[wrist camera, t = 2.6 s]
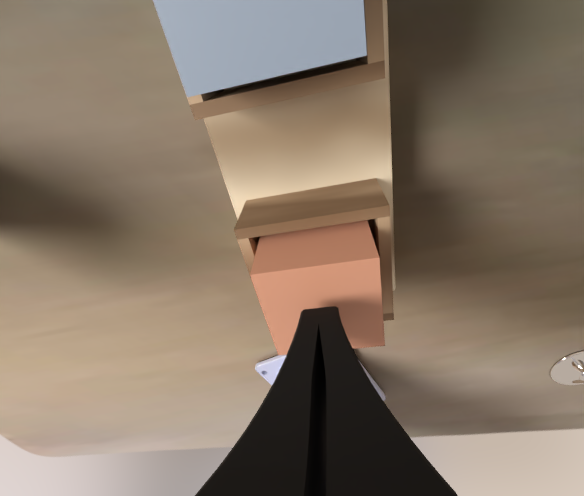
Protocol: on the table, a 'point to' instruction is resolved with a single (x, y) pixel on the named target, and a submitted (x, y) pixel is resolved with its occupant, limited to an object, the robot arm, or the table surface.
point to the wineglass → (569, 369)
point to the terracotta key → (321, 281)
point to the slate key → (258, 38)
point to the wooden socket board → (311, 149)
